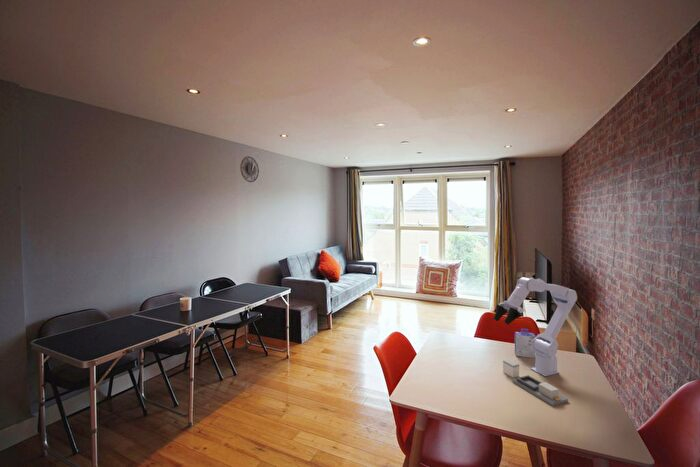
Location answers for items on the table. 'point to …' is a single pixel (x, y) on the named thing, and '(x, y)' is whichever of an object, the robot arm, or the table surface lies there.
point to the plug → (511, 368)
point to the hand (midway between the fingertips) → (500, 321)
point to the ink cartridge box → (524, 344)
